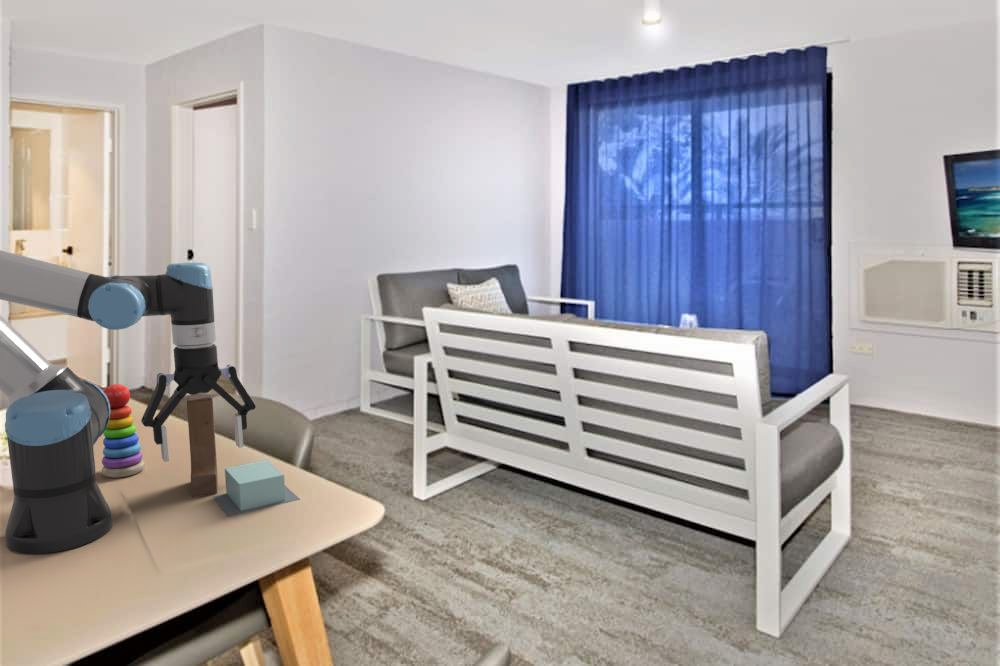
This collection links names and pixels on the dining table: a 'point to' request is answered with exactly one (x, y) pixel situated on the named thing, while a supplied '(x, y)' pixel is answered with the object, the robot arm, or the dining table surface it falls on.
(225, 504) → the mat
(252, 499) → the plinth
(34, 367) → the robot arm
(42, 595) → the dining table surface
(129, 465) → the stacking toy
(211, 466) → the wooden block
